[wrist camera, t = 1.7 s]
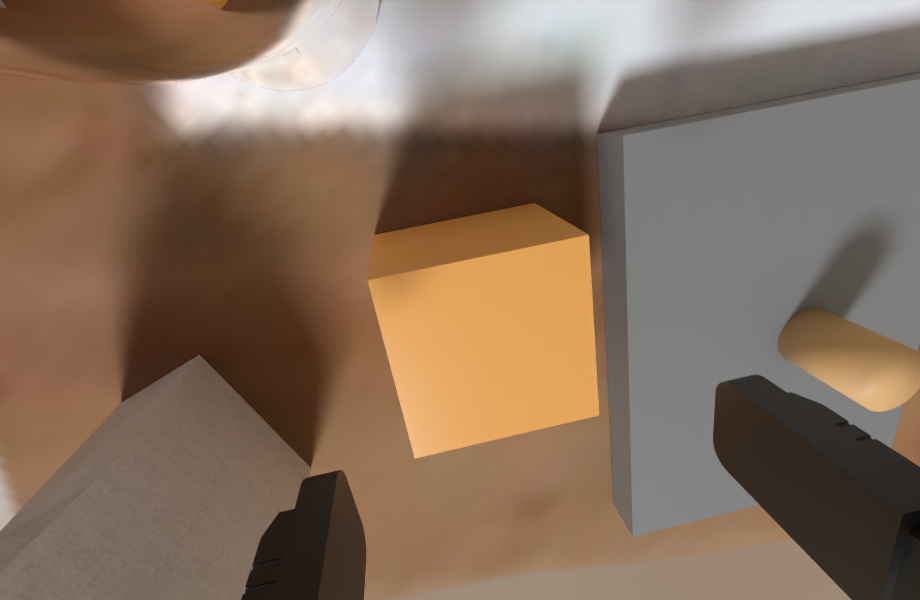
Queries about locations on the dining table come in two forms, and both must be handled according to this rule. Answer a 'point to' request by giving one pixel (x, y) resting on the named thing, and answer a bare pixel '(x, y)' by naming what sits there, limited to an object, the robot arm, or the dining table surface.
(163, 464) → the grey cardboard box
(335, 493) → the robot arm
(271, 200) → the dining table surface
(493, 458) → the dining table surface
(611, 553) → the dining table surface
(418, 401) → the matte orange cube
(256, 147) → the dining table surface
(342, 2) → the beer glass
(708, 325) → the board
